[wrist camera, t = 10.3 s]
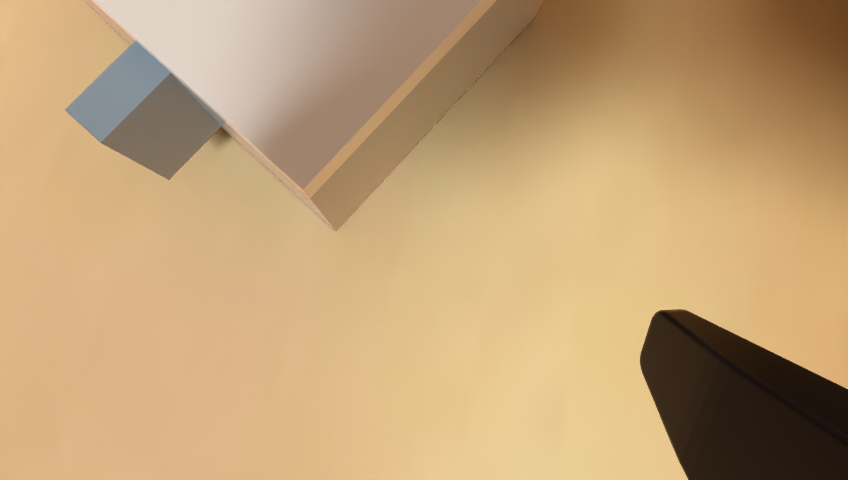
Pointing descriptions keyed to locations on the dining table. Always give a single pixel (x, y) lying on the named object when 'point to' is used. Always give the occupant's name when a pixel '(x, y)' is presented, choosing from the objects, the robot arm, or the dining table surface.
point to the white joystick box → (293, 83)
